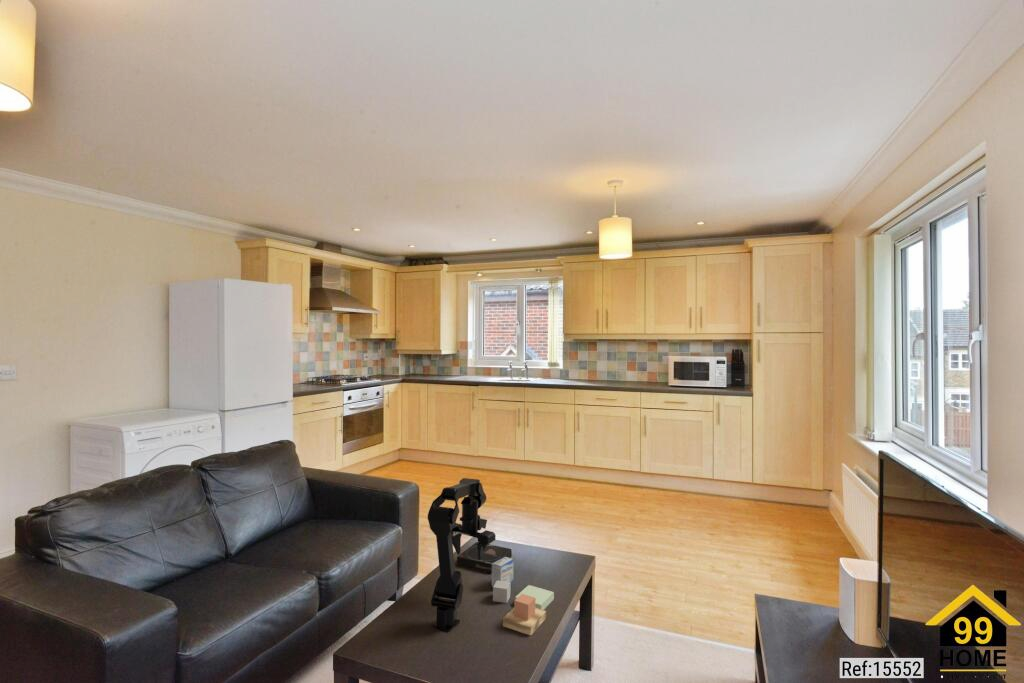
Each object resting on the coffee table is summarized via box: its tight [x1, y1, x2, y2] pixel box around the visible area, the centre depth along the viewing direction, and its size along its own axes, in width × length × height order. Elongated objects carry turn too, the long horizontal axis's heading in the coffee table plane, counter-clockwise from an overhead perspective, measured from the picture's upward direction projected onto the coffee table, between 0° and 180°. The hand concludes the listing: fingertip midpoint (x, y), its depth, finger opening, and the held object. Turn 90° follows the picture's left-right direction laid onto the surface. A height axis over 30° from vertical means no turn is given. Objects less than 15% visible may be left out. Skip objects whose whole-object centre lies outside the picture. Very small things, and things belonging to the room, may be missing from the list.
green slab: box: [514, 584, 555, 610], centre depth 176 cm, size 10×10×2 cm
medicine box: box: [491, 557, 515, 587], centre depth 188 cm, size 8×4×9 cm, turn 143°
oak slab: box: [502, 607, 547, 636], centre depth 163 cm, size 11×10×2 cm
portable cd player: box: [456, 541, 513, 574], centre depth 207 cm, size 16×17×4 cm
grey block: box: [492, 580, 512, 604], centre depth 177 cm, size 5×5×5 cm
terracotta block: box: [513, 594, 535, 620], centre depth 163 cm, size 5×5×5 cm
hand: (469, 557), depth 181 cm, fingers open, 9 cm apart
